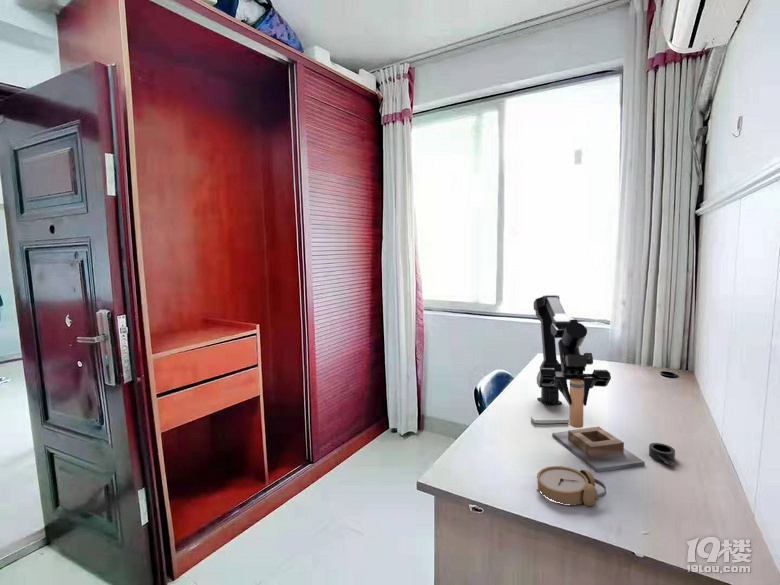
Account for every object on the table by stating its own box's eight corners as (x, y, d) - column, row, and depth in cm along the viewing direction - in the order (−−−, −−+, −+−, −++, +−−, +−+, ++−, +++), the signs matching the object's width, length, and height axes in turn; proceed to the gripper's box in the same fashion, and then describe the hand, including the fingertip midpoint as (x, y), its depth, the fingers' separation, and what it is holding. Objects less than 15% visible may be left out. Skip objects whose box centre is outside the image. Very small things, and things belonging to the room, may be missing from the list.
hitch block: (552, 436, 121) (552, 423, 120) (593, 430, 123) (593, 418, 122) (596, 472, 101) (597, 457, 100) (644, 465, 103) (645, 450, 103)
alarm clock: (536, 464, 101) (601, 463, 95) (539, 482, 101) (604, 483, 95) (535, 489, 90) (608, 491, 85) (539, 509, 91) (611, 512, 85)
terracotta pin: (566, 422, 114) (567, 379, 112) (577, 421, 114) (578, 378, 113) (574, 428, 110) (574, 383, 109) (586, 427, 111) (587, 382, 109)
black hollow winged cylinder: (639, 459, 106) (639, 449, 106) (650, 446, 113) (651, 437, 113) (673, 471, 101) (674, 460, 100) (683, 456, 107) (683, 446, 107)
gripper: (540, 341, 116) (545, 391, 106) (610, 342, 111) (622, 394, 102) (536, 359, 124) (541, 407, 115) (601, 361, 120) (611, 411, 110)
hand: (577, 404), depth 110 cm, fingers closed on terracotta pin, 4 cm apart
